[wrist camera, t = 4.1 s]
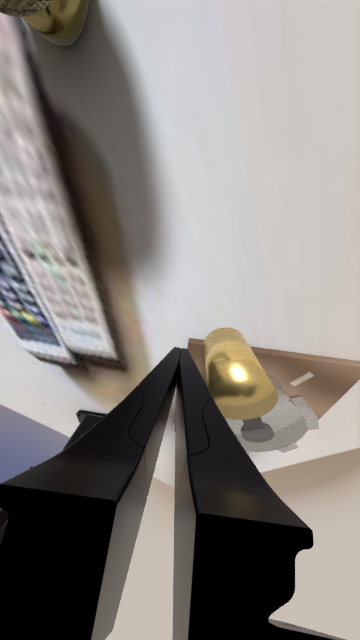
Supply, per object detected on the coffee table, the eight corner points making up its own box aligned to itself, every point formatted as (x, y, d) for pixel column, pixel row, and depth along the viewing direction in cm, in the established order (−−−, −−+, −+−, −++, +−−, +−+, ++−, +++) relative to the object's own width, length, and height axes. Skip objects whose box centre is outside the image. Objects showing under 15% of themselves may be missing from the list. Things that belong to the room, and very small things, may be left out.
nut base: (283, 443, 19) (287, 451, 19) (175, 425, 20) (174, 432, 19) (360, 361, 12) (372, 369, 12) (189, 338, 13) (188, 343, 12)
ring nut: (305, 428, 16) (360, 512, 11) (216, 437, 19) (225, 508, 13) (289, 293, 9) (407, 341, 4) (157, 338, 12) (129, 401, 7)
